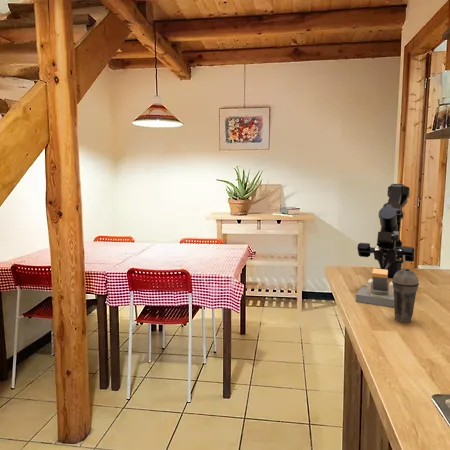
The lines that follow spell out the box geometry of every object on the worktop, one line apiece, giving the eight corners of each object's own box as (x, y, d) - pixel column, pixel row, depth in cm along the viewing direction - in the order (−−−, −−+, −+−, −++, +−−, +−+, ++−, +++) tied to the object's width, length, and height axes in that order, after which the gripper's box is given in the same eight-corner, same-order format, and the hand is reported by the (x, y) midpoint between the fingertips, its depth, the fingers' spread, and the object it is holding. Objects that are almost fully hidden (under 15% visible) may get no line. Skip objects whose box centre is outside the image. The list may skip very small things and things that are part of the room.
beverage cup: (422, 322, 120) (426, 256, 117) (403, 326, 118) (407, 258, 115) (403, 313, 127) (406, 251, 124) (384, 317, 125) (388, 253, 121)
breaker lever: (374, 287, 142) (373, 268, 137) (388, 288, 140) (387, 269, 135) (373, 291, 140) (372, 272, 136) (387, 293, 138) (386, 274, 134)
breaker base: (362, 291, 149) (362, 274, 148) (403, 297, 142) (404, 279, 141) (355, 301, 138) (356, 283, 138) (400, 308, 132) (401, 289, 131)
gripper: (359, 220, 147) (352, 257, 139) (416, 224, 138) (411, 263, 131) (362, 238, 155) (355, 273, 147) (416, 242, 146) (412, 280, 139)
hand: (382, 272), depth 141 cm, fingers closed
